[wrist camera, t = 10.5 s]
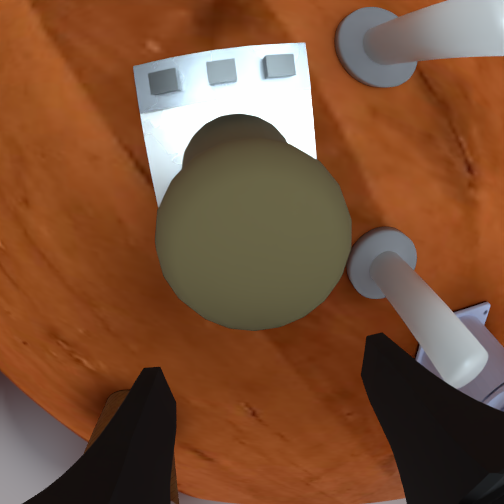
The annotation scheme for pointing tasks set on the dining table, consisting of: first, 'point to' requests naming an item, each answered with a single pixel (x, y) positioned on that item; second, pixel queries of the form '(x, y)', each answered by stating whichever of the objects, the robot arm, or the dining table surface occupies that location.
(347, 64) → the post
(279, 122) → the board
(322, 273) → the cork
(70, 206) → the dining table surface
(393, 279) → the post
